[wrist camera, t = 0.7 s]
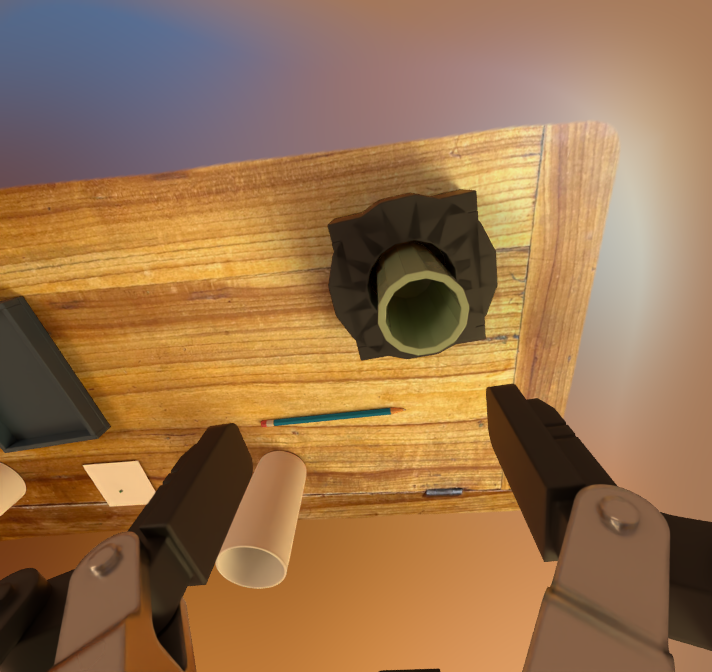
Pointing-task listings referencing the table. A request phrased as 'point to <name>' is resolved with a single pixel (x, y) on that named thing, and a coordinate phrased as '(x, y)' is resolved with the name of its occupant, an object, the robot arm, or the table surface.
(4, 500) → the mug
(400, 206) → the dark brown carved ring
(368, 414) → the pencil
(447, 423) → the table surface
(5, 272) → the table surface
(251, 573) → the mug
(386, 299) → the cup
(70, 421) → the tray
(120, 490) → the coaster
